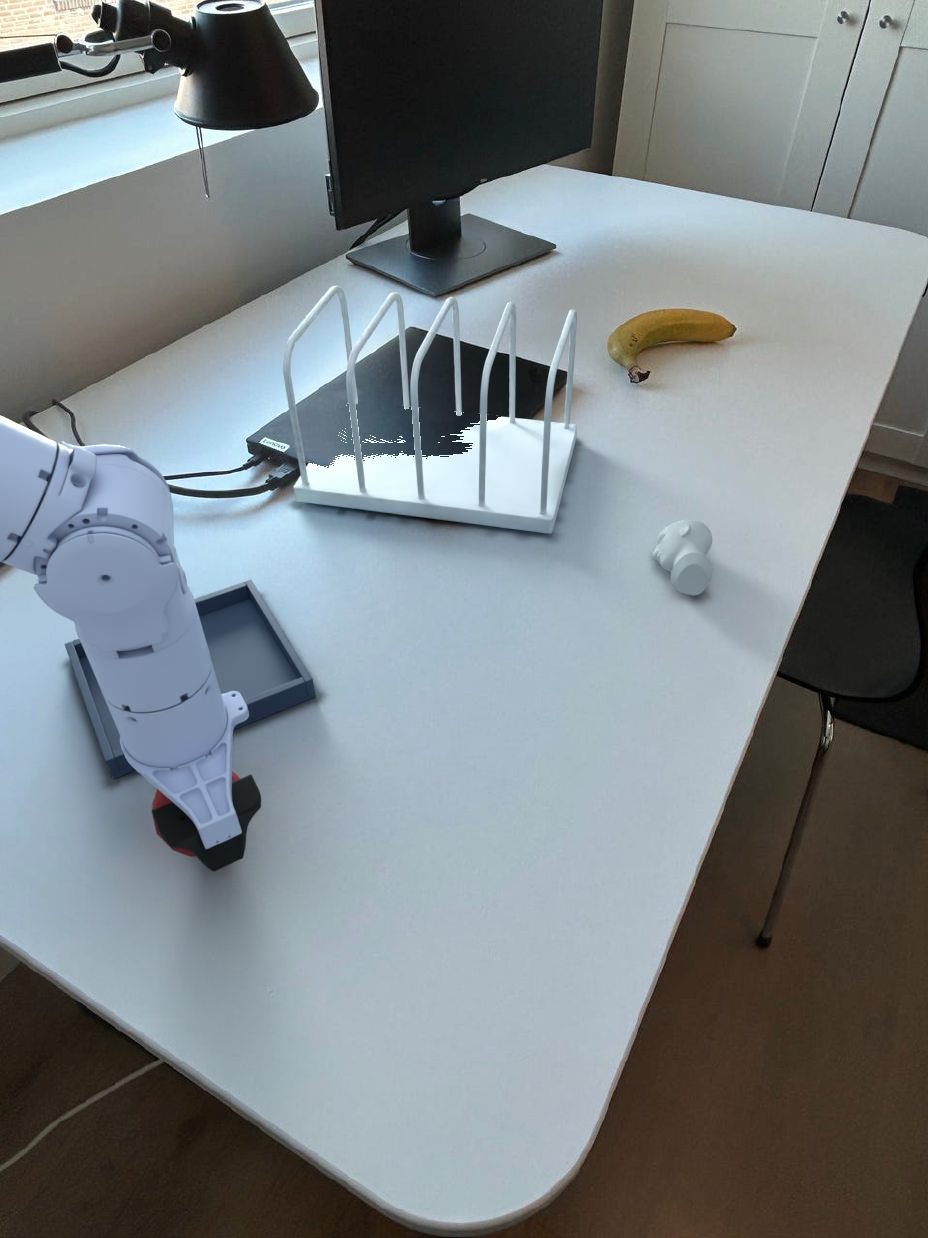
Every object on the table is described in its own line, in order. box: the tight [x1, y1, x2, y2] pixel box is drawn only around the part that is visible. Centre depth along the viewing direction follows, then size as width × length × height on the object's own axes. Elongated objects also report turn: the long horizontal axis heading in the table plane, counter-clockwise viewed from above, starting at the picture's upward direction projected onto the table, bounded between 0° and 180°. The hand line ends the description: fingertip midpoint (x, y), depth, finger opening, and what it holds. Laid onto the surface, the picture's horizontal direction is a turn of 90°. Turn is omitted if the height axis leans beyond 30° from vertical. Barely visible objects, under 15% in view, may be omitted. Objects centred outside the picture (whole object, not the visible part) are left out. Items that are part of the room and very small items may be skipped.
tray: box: [64, 579, 317, 779], centre depth 67 cm, size 15×13×2 cm
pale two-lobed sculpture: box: [652, 518, 713, 596], centre depth 76 cm, size 4×8×5 cm
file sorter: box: [282, 285, 578, 534], centre depth 83 cm, size 25×17×16 cm
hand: (208, 820), depth 56 cm, fingers open, 6 cm apart
